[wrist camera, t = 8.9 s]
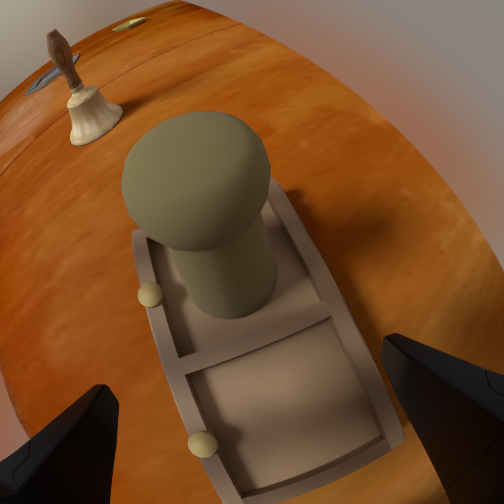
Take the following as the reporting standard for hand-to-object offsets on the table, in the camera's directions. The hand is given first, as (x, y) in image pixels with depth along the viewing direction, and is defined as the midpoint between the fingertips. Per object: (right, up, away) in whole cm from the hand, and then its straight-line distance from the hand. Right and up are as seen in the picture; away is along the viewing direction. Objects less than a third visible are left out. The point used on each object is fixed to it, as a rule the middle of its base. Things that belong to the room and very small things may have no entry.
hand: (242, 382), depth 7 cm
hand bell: (-21, +21, +22) cm, 36 cm away
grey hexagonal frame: (-57, +55, +41) cm, 89 cm away
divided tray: (+1, -2, +9) cm, 9 cm away
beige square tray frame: (-39, +77, +50) cm, 100 cm away
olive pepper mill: (-1, +2, +10) cm, 11 cm away
